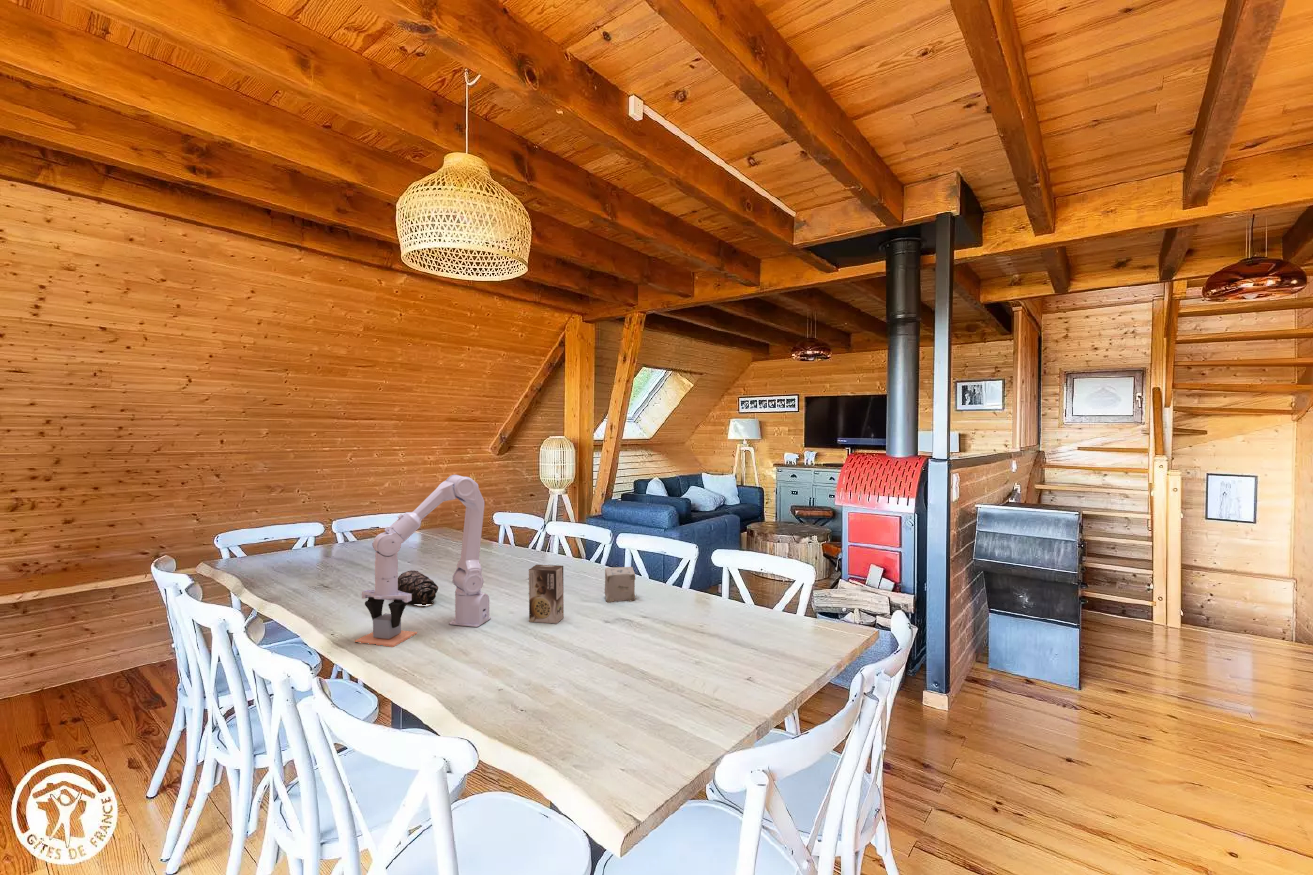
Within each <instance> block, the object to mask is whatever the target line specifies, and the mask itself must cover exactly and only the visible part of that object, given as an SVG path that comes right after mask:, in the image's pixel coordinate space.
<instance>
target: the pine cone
mask: <svg viewBox="0 0 1313 875" xmlns="http://www.w3.org/2000/svg"><path fill="white" fill-rule="evenodd" d="M438 590H439V586H438V585H437V584H436V582H435V581H434V580H433V579H430V577H429V576H427V575H425V574H423V573H421V572H419V571H418V570H414V569H411V570H407V571H404V572H402V573H401V574H400V575H398V591H402V592H405V593H410V594H412V600H411V601H409V602H408V603H407V605H409V604H422V605H426V604H433V605H434V603H435V601H434V600H435V599H436V597H437V593H438ZM432 602H433V603H432Z"/></svg>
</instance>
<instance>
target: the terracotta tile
mask: <svg viewBox="0 0 1313 875" xmlns="http://www.w3.org/2000/svg"><path fill="white" fill-rule="evenodd" d="M415 634H416V635H418V632H417V631H411V630H402V629H401V633H399V634H397V635H395V636H393V637H392V638H390V639H385V638H375V637H373V631H372V632H370V633H368V634H365V635H364V636H362V637H359V638H357V639H355V640H354V643H355V642H361V643H360V644H362V643H369V644H368V645H371V644H376V645H375V646H380V645H383V646H382V647H388V646H389V648H390V647H391V648H394V647H396V646H397V645H399V644H401V642H402V643H404V642H405V641H407V640H409V639H411V638H412V637H411V636H413V635H415ZM416 635H415V636H416ZM410 637H411V638H410ZM413 637H414V636H413ZM408 638H409V639H408Z"/></svg>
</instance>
